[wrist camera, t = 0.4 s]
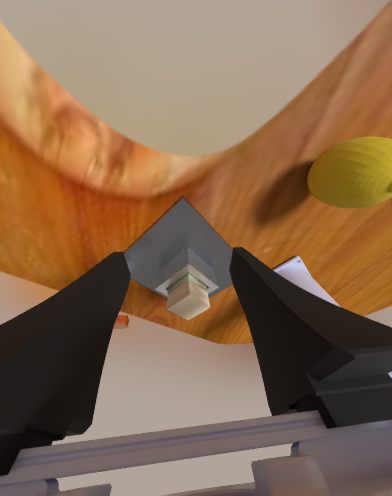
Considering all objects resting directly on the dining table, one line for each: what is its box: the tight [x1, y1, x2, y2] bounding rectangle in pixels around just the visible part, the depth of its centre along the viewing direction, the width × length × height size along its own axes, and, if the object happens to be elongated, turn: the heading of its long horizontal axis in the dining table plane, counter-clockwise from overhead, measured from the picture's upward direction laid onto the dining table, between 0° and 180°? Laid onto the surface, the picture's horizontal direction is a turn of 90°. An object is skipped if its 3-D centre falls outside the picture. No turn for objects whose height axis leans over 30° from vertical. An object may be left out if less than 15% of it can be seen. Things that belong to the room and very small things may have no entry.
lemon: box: [307, 137, 392, 208], centre depth 13 cm, size 6×6×8 cm
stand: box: [113, 196, 233, 329], centre depth 19 cm, size 16×14×9 cm
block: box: [167, 272, 210, 320], centre depth 20 cm, size 4×4×6 cm
